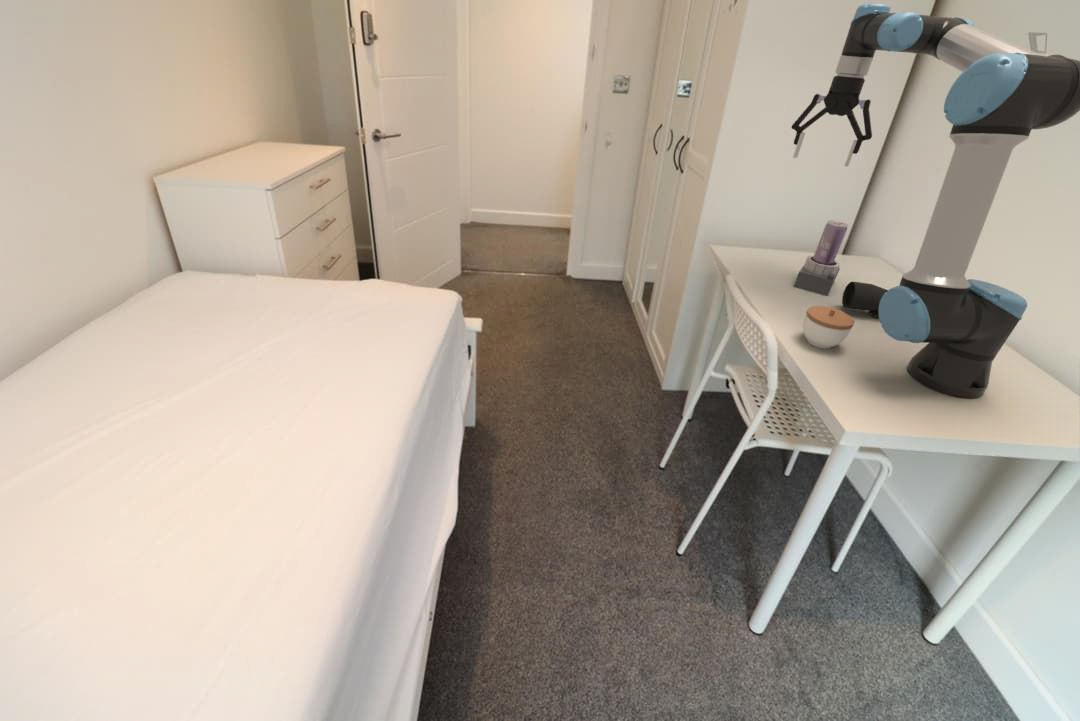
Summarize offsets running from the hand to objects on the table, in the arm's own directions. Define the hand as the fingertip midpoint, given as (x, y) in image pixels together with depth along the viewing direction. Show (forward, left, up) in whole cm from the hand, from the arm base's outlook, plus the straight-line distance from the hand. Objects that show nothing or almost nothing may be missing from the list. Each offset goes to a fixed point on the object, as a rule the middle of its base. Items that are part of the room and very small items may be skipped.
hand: (820, 161), depth 144 cm
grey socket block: (+6, -10, -37) cm, 39 cm away
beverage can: (+6, -10, -32) cm, 34 cm away
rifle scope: (-5, -32, -37) cm, 49 cm away
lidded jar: (-36, -18, -37) cm, 55 cm away
